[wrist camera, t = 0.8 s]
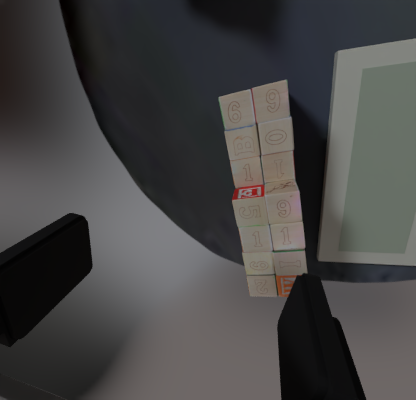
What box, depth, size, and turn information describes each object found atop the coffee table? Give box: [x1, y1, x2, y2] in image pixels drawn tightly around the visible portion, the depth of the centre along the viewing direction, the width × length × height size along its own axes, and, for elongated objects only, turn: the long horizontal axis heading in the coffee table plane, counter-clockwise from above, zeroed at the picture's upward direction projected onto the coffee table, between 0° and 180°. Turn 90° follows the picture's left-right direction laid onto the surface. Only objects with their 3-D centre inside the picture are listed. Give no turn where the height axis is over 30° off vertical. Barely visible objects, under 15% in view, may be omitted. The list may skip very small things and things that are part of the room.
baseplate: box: [317, 39, 416, 266], centre depth 28 cm, size 13×27×1 cm, turn 6°
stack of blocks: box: [219, 80, 307, 297], centre depth 26 cm, size 21×6×12 cm, turn 12°
